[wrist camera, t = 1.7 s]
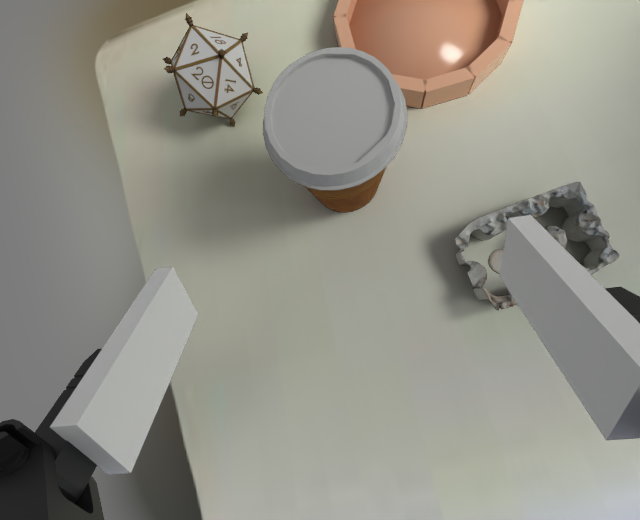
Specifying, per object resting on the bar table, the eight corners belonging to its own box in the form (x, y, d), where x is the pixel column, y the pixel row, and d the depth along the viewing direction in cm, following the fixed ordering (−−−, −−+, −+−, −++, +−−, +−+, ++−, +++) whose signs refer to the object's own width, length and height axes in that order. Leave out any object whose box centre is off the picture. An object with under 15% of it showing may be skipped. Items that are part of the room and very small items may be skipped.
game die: (259, 117, 40) (291, 83, 31) (195, 151, 37) (210, 125, 28) (214, 38, 37) (235, -25, 28) (141, 69, 34) (138, 10, 25)
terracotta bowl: (548, 18, 32) (562, -6, 30) (421, 139, 32) (425, 125, 30) (420, -71, 36) (424, -99, 33) (306, 39, 36) (301, 19, 33)
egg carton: (478, 314, 30) (494, 315, 26) (443, 236, 31) (453, 225, 27) (602, 270, 29) (639, 264, 25) (559, 191, 30) (588, 173, 26)
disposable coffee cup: (308, 239, 33) (272, 199, 21) (288, 149, 34) (245, 65, 23) (407, 215, 32) (427, 158, 20) (382, 123, 33) (387, 20, 22)
